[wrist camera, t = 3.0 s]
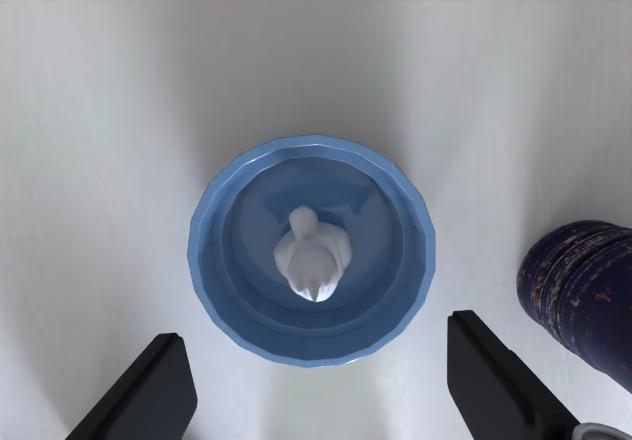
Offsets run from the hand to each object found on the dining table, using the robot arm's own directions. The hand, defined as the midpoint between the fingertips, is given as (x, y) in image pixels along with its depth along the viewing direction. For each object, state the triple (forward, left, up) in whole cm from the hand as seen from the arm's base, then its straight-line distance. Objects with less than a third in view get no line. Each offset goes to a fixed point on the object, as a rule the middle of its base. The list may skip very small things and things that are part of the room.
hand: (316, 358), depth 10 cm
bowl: (0, 0, -13) cm, 13 cm away
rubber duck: (0, 0, -13) cm, 13 cm away
